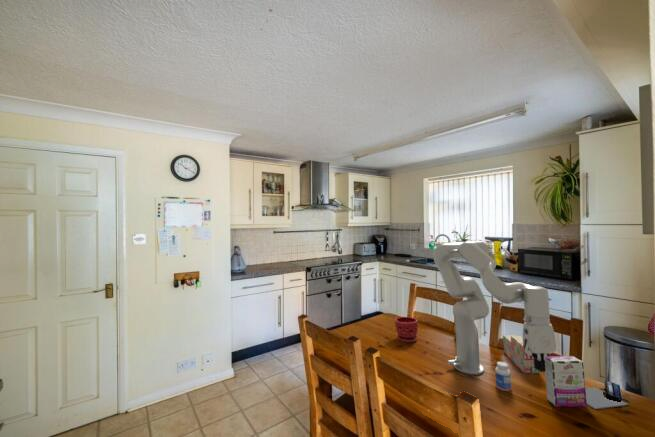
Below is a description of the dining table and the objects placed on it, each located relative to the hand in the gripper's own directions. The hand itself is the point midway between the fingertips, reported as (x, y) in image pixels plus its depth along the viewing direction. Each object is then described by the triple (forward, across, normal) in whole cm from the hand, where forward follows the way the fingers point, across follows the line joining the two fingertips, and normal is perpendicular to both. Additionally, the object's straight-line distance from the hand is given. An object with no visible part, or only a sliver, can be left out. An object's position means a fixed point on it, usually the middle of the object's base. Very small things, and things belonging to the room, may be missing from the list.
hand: (539, 369), depth 103 cm
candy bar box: (+13, +10, 0) cm, 17 cm away
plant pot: (+13, -23, +68) cm, 73 cm away
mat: (+13, +24, +1) cm, 27 cm away
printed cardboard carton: (+13, +19, +31) cm, 39 cm away
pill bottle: (+13, -5, +13) cm, 19 cm away
